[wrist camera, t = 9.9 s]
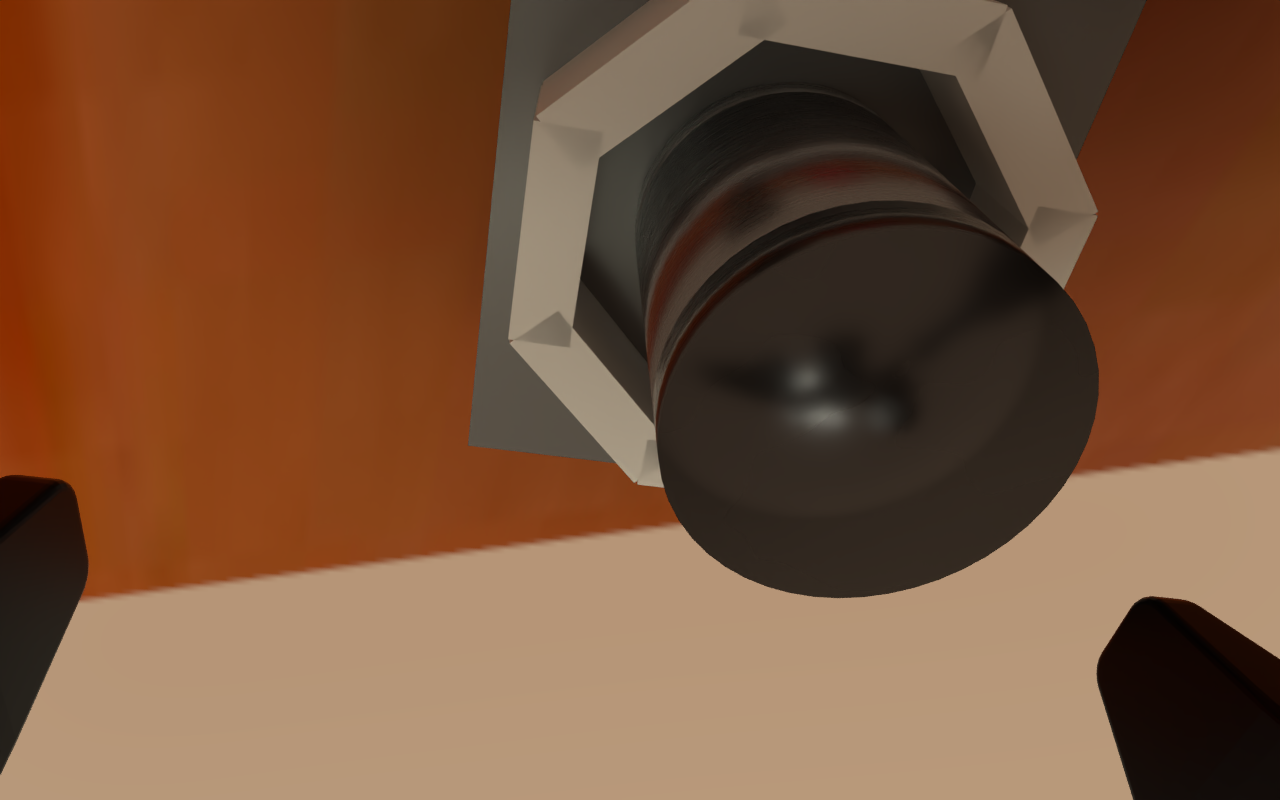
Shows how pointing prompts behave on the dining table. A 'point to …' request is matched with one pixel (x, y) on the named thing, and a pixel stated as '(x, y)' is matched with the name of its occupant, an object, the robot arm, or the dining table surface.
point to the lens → (846, 351)
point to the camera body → (697, 77)
